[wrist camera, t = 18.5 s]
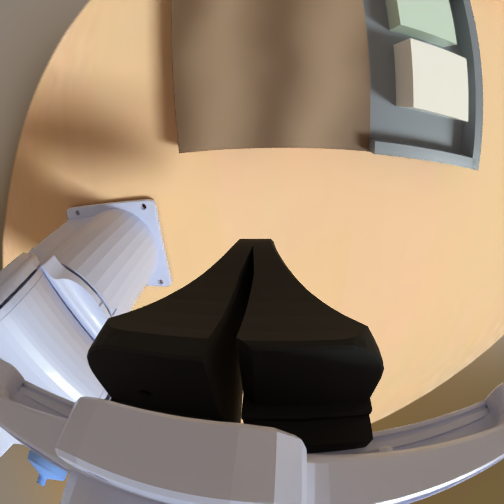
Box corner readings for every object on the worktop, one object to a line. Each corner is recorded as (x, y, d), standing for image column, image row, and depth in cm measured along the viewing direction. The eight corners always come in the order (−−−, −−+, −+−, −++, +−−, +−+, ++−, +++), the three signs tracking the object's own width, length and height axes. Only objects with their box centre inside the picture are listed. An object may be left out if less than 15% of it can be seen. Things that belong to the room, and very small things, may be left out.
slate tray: (359, 146, 17) (374, 154, 14) (347, -33, 10) (357, -50, 7) (456, 160, 16) (478, 170, 14) (448, -2, 9) (467, -9, 6)
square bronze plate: (188, 148, 18) (179, 153, 16) (181, -29, 10) (172, -39, 9) (359, 146, 17) (369, 151, 15) (347, -33, 10) (354, -44, 8)
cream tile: (395, 106, 14) (413, 107, 12) (393, 44, 12) (410, 38, 9) (447, 118, 13) (468, 121, 11) (446, 61, 11) (466, 58, 9)
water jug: (83, 438, 63) (62, 498, 39) (76, 440, 69) (57, 492, 45) (46, 414, 58) (21, 473, 34) (43, 418, 65) (21, 470, 40)
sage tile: (389, 30, 11) (400, 24, 10) (381, -20, 9) (390, -29, 7) (443, 47, 11) (456, 44, 9) (434, -2, 9) (446, -7, 7)
